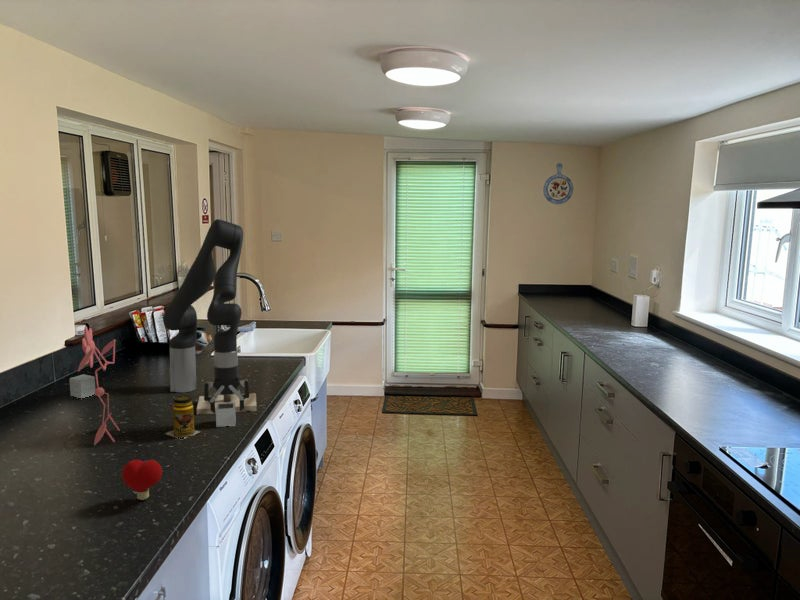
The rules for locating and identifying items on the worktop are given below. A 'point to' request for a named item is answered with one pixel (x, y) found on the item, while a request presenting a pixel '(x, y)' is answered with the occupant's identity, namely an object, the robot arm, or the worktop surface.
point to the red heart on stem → (141, 476)
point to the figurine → (89, 350)
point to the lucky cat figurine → (201, 341)
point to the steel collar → (225, 414)
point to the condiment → (183, 417)
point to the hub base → (249, 402)
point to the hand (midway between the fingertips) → (227, 411)
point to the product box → (82, 386)
